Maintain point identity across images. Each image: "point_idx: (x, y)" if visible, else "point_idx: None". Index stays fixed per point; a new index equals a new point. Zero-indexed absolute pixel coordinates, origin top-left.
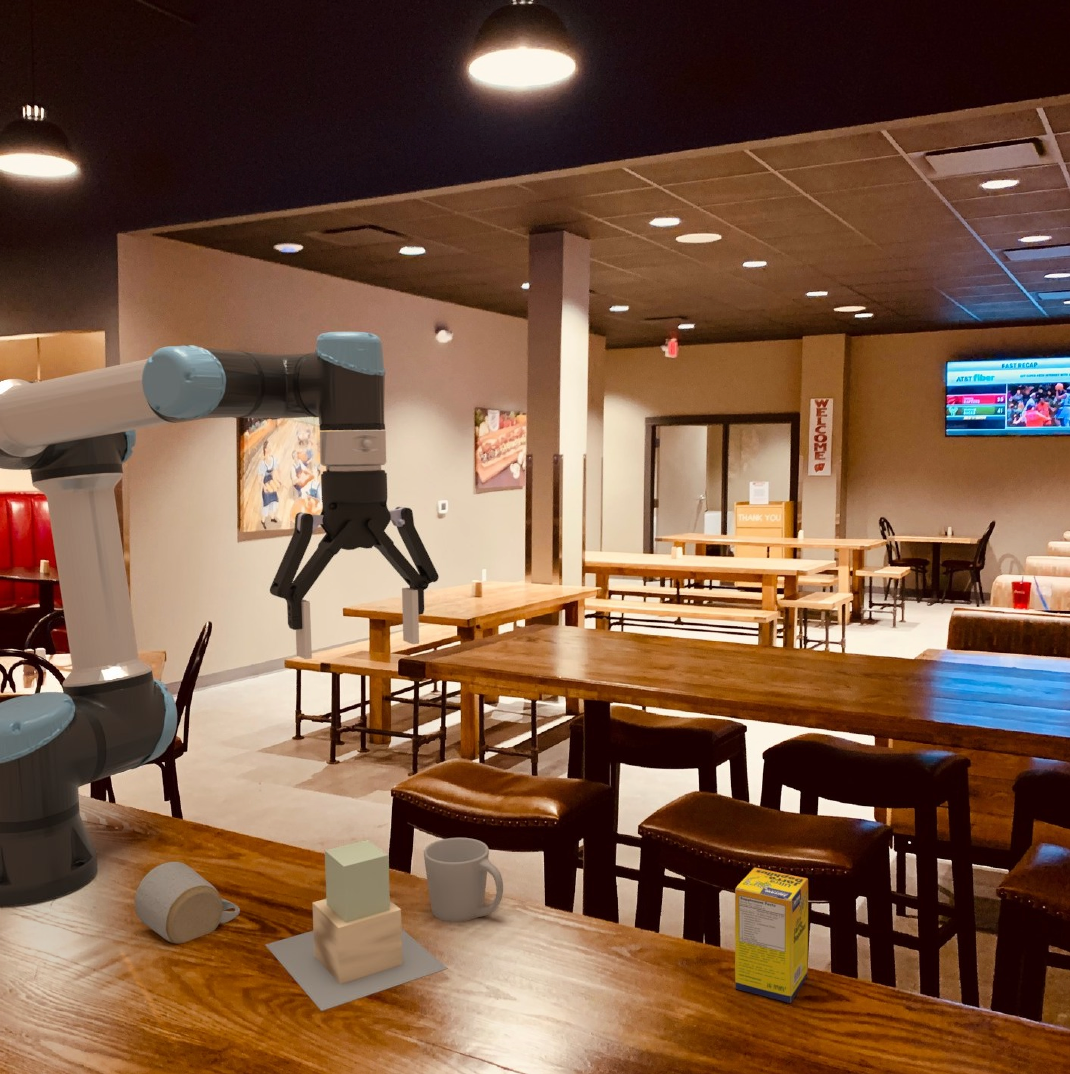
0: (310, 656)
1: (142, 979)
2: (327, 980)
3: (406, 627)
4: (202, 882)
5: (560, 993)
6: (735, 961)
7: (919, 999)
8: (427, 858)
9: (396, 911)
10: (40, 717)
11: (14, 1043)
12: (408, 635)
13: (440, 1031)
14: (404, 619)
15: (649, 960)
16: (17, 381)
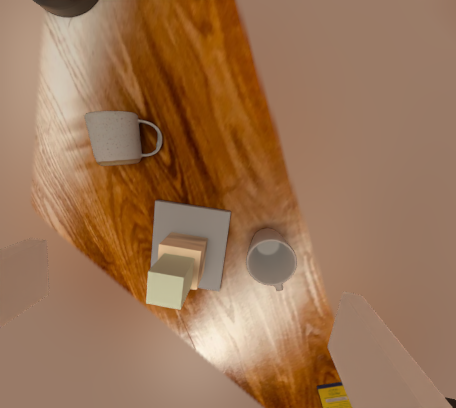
0: (41, 297)
1: (95, 176)
2: None
3: (357, 346)
4: (115, 156)
5: (253, 333)
6: (321, 400)
7: None
8: (246, 258)
9: (193, 289)
10: None
11: (33, 192)
12: (343, 337)
13: (190, 317)
14: (375, 358)
15: (310, 344)
16: None
